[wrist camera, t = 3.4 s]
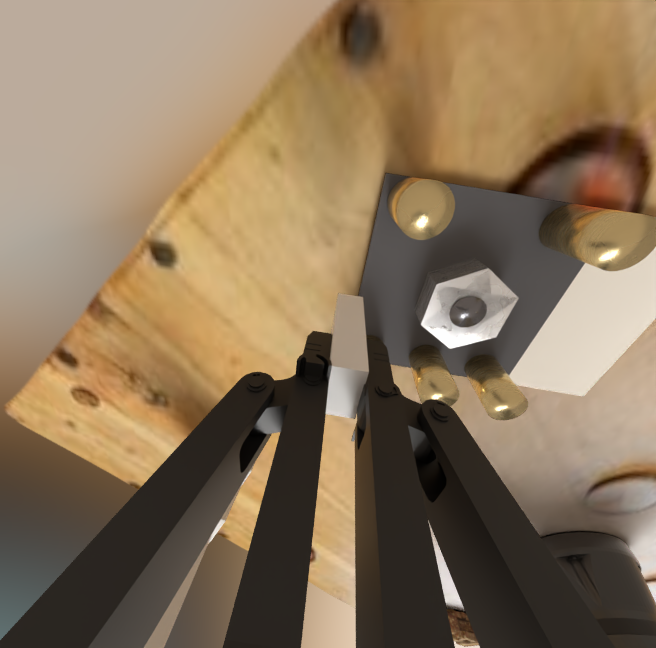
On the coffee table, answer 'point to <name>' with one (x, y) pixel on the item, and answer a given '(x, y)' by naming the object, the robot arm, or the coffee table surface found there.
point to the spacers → (555, 233)
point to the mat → (522, 279)
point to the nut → (464, 303)
